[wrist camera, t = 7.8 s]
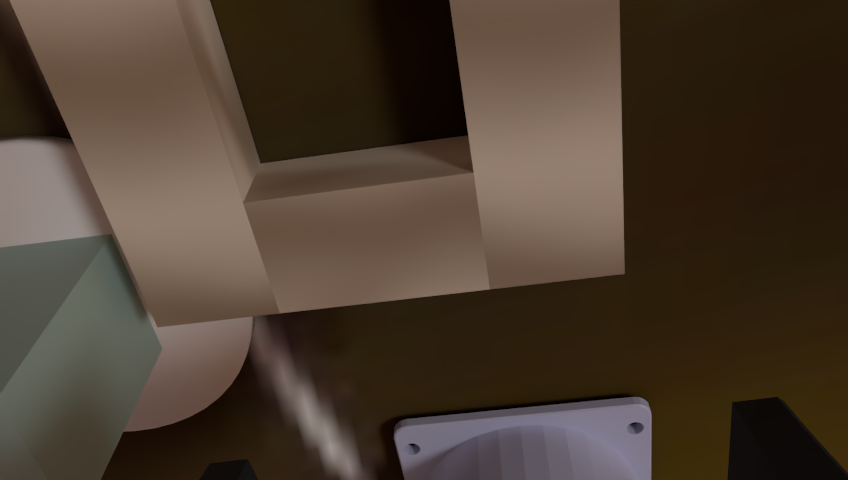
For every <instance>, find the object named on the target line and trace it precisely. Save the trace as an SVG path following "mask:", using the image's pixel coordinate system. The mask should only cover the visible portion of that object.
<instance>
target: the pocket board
mask: <svg viewBox="0 0 848 480" xmlns="http://www.w3.org/2000/svg"><path fill="white" fill-rule="evenodd" d="M449 1H450V8H451V15H452V22H453V29H454V36H455V44H456V51H457V58H458V65H459V72H460V79H461V86H462V94H463V101H464V108H465V115H466V122H467V129H468V135H466V136H459V137H452V138H444V139H437V140H430V141H422V142H415V143H408V144H400V145H393V146H386V147H379V148H371V149H364V150H357V151H349V152H342V153H335V154H327V155H320V156H313V157H305V158H298V159H291V160H283V161H276V162H269V163H262V164H260V160H259V157H258V154H257V151H256V148H255V144H254V141H253V138H252V135H251V131H250V128H249V125H248V122H247V118H246V115H245V112H244V109H243V106H242V102H241V99H240V96H239V93H238V89H237V86H236V83H235V80H234V77H233V73H232V70H231V67H230V64H229V60H228V57H227V54H226V51H225V48H224V44H223V41H222V38H221V35H220V31H219V28H218V25H217V22H216V19H215V15H214V12H213V9H212V6H211V2H210V0H10V3H11V5H12V7H13V9H14V12H15V14H16V16H17V18H18V20H19V23H20V25H21V27H22V29H23V31H24V34H25V36H26V38H27V40H28V42H29V45H30V47H31V49H32V51H33V53H34V56H35V58H36V60H37V62H38V65H39V67H40V69H41V71H42V73H43V76H44V78H45V80H46V82H47V84H48V87H49V89H50V91H51V93H52V95H53V98H54V100H55V102H56V104H57V107H58V109H59V111H60V113H61V115H62V118H63V120H64V122H65V124H66V126H67V129H68V131H69V133H70V135H71V137H72V140H73V142H74V144H75V146H76V148H77V151H78V153H79V155H80V157H81V160H82V162H83V164H84V166H85V168H86V171H87V173H88V175H89V177H90V179H91V182H92V184H93V186H94V188H95V190H96V193H97V195H98V197H99V199H100V201H101V204H102V206H103V208H104V210H105V213H106V215H107V217H108V219H109V221H110V224H111V226H112V228H113V230H114V232H115V235H116V237H117V239H118V241H119V243H120V246H121V248H122V250H123V252H124V255H125V257H126V259H127V261H128V263H129V266H130V268H131V270H132V272H133V274H134V277H135V279H136V281H137V283H138V285H139V288H140V290H141V292H142V294H143V296H144V299H145V301H146V303H147V305H148V308H149V310H150V312H151V314H152V316H153V319H154V321H155V323H156V325H157V327H166V326H174V325H183V324H192V323H200V322H209V321H218V320H227V319H235V318H244V317H253V316H261V315H270V314H279V313H287V312H296V311H305V310H314V309H322V308H331V307H340V306H348V305H357V304H366V303H374V302H383V301H392V300H401V299H409V298H418V297H427V296H435V295H444V294H453V293H462V292H470V291H479V290H488V289H496V288H505V287H514V286H522V285H531V284H540V283H549V282H557V281H566V280H575V279H583V278H592V277H601V276H609V275H618V274H625V272H624V220H623V168H622V116H621V63H620V11H619V0H449Z"/></svg>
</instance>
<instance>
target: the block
mask: <svg viewBox="0 0 848 480" xmlns="http://www.w3.org/2000/svg"><path fill="white" fill-rule="evenodd" d="M161 351H162V347H161V344H160V342H159V340H158V338H157V335H156V333H155V331H154V329H153V327H152V324H151V322H150V320H149V318H148V315H147V313H146V311H145V309H144V306H143V304H142V302H141V300H140V297H139V295H138V293H137V291H136V288H135V286H134V284H133V282H132V280H131V277H130V275H129V273H128V271H127V268H126V266H125V264H124V262H123V259H122V257H121V255H120V253H119V250H118V248H117V246H116V244H115V241H114V239H113V237H112V235H111V234H106V235H98V236H90V237H82V238H74V239H65V240H57V241H49V242H41V243H33V244H24V245H16V246H8V247H0V480H101V478H102V476H103V474H104V471H105V469H106V467H107V465H108V463H109V461H110V459H111V457H112V455H113V452H114V450H115V448H116V446H117V444H118V442H119V440H120V438H121V436H122V433H123V431H124V429H125V427H126V425H127V423H128V421H129V419H130V417H131V414H132V412H133V410H134V408H135V406H136V404H137V402H138V400H139V397H140V395H141V393H142V391H143V389H144V387H145V385H146V383H147V381H148V378H149V376H150V374H151V372H152V370H153V368H154V366H155V364H156V362H157V359H158V357H159V355H160V353H161Z"/></svg>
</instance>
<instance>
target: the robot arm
mask: <svg viewBox="0 0 848 480" xmlns="http://www.w3.org/2000/svg"><path fill="white" fill-rule="evenodd" d="M634 422H638V423H637V424H633V425H630V424H631V423H634ZM394 441H395V445H396V449H397V453H398V457H399V460H400V464H401V468H402V472H403V476H404V480H651V411H650V408H649V405H648V402H647V401H646V400H645V399H642V398H640V397H626V398H616V399H606V400H596V401H586V402H575V403H565V404H555V405H545V406H534V407H524V408H514V409H504V410H494V411H483V412H473V413H463V414H453V415H443V416H432V417H422V418H412V419H405V420H401V421H400V422H398V423H397V424H396V426H395V427H394ZM410 443H411V444H416V445H409V444H410ZM199 480H258V479H257V477H256V475H255V473H254V471H253V469H252V467H251V465H250V463H249V461H248V459H245V460H237V461H228V462H220V463H211V464H210V465H209V466H208V467H207V468H206V470H205V471H204V473H203V474H202V476H201V478H200V479H199ZM728 480H848V473H847V472H846V471H845V470H844V469H843V468H842V467H841V466H840V464H839V463H838V462H837V461H836V460H835V459H834V458H833V457H832V456H831V455H830V454H829V452H828V451H827V450H826V449H825V448H824V447H823V446H822V445H821V444H820V442H819V441H818V440H817V439H816V438H815V437H814V436H813V435H812V433H811V432H810V431H809V430H808V429H807V428H806V427H805V425H804V424H803V423H802V422H801V421H800V420H799V418H798V417H797V416H796V415H795V414H794V413H793V411H792V410H791V409H790V408H789V407H788V406H787V404H786V403H785V402H784V401H782V400H781V399H779V398H778V397H774V398H765V399H757V400H748V401H740V402H732V418H731V434H730V450H729V466H728Z"/></svg>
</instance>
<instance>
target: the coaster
mask: <svg viewBox="0 0 848 480" xmlns="http://www.w3.org/2000/svg"><path fill="white" fill-rule="evenodd" d="M106 234H111V235H112V237H113V239H114V241H115V244H116V246H117V248H118V250H119V253H120V255H121V257H122V259H123V262H124V264H125V266H126V268H127V271H128V273H129V275H130V277H131V280H132V282H133V284H134V286H135V288H136V291H137V293H138V295H139V297H140V300H141V302H142V304H143V306H144V309H145V311H146V313H147V315H148V318H149V320H150V322H151V324H152V327H153V329H154V331H155V333H156V335H157V338H158V340H159V342H160V344H161V347H162V351H161V353H160V355H159V357H158V359H157V362H156V364H155V366H154V368H153V370H152V372H151V374H150V376H149V378H148V381H147V383H146V385H145V387H144V389H143V391H142V393H141V395H140V397H139V400H138V402H137V404H136V406H135V408H134V410H133V412H132V414H131V417H130V419H129V421H128V423H127V425H126V427H125V429H124V431H123V432H125V431H139V430H146V429H153V428H158V427H161V426H165V425H169V424H173V423H176V422H178V421H181V420H183V419H186V418H188V417H191V416H192V415H194V414H196V413H198V412H200V411H201V410H203V409H205V408H206V407H208V406H209V405H210V404H212V403H213V402H214V401H215V400H217V399H218V398H219V397H220V396H221V395H222V394H223V393H224V392H225V391H226V390H227V389H228V388H229V387H230V386H231V384H232V383H233V381H234V380H235V378H236V377H237V375H238V374H239V372H240V370H241V367H242V365H243V363H244V360H245V358H246V355H247V352H248V349H249V346H250V343H251V339H252V334H253V330H254V321H255V316H253V317H244V318H235V319H227V320H218V321H209V322H200V323H192V324H183V325H174V326H166V327H157V325H156V323H155V321H154V319H153V316H152V314H151V312H150V310H149V308H148V305H147V303H146V301H145V299H144V296H143V294H142V292H141V290H140V288H139V285H138V283H137V281H136V279H135V277H134V274H133V272H132V270H131V268H130V266H129V263H128V261H127V259H126V257H125V255H124V252H123V250H122V248H121V246H120V243H119V241H118V239H117V237H116V235H115V232H114V230H113V228H112V226H111V224H110V221H109V219H108V217H107V215H106V213H105V210H104V208H103V206H102V204H101V201H100V199H99V197H98V195H97V193H96V190H95V188H94V186H93V184H92V182H91V179H90V177H89V175H88V173H87V171H86V168H85V166H84V164H83V162H82V160H81V157H80V155H79V153H78V151H77V148H76V146H75V144H74V142H73V140H72V139H67V138H61V137H55V136H40V135H18V136H5V137H0V247H8V246H16V245H24V244H33V243H41V242H49V241H57V240H65V239H74V238H82V237H90V236H98V235H106Z"/></svg>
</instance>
